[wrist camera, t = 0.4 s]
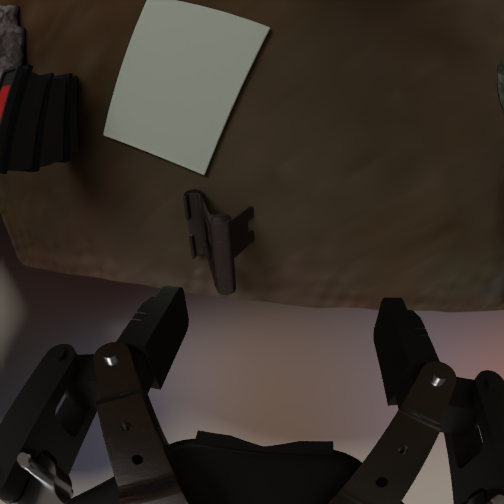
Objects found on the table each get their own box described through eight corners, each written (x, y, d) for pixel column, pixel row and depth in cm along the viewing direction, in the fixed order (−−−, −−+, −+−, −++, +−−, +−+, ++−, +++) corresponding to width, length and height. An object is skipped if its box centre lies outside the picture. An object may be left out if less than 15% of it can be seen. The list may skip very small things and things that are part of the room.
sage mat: (151, -4, 21) (149, -5, 21) (270, 28, 23) (269, 27, 23) (105, 133, 31) (103, 135, 31) (205, 173, 33) (203, 175, 33)
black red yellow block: (57, 177, 34) (-24, 172, 19) (77, 87, 32) (8, 53, 17) (76, 178, 34) (-7, 173, 19) (97, 85, 31) (28, 45, 17)
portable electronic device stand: (187, 187, 35) (160, 220, 28) (253, 188, 34) (240, 223, 27) (195, 249, 39) (175, 290, 33) (254, 252, 39) (244, 296, 32)
